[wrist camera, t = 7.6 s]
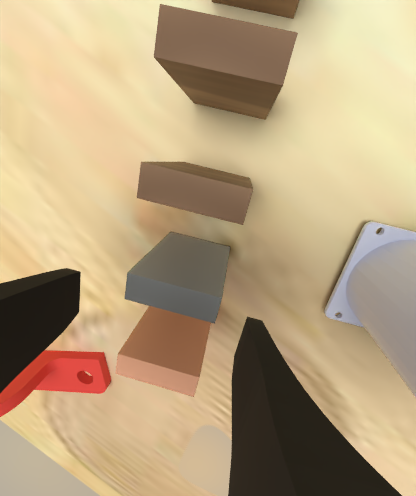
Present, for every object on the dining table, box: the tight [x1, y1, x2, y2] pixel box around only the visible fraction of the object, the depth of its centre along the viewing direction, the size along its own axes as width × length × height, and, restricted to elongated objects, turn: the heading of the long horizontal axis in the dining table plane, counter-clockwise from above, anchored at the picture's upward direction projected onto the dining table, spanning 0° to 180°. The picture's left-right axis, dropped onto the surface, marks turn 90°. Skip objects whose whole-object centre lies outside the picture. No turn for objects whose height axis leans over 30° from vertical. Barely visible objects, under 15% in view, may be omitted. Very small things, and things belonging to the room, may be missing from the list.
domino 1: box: [154, 4, 298, 119], centre depth 13 cm, size 2×5×8 cm, turn 77°
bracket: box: [0, 350, 111, 417], centre depth 24 cm, size 12×4×8 cm, turn 95°
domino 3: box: [116, 306, 211, 397], centre depth 18 cm, size 2×5×8 cm, turn 77°
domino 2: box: [137, 162, 253, 225], centre depth 15 cm, size 2×5×8 cm, turn 77°
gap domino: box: [125, 232, 230, 323], centre depth 17 cm, size 2×5×8 cm, turn 78°
